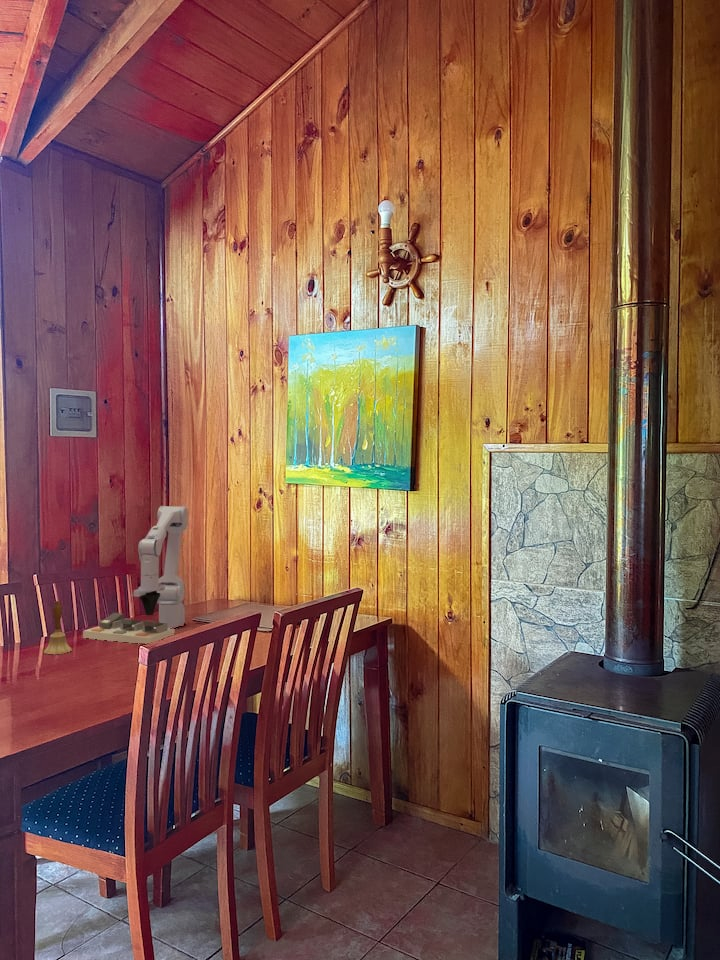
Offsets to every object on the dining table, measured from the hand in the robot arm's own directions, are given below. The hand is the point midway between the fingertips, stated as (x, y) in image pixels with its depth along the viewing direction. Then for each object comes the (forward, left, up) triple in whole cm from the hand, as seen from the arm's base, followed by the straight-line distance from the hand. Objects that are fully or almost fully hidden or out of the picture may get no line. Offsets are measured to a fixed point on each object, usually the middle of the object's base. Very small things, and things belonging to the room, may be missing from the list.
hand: (149, 614), depth 244 cm
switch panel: (-1, -9, -9) cm, 12 cm away
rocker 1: (-3, -18, -4) cm, 19 cm away
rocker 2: (-3, 0, -4) cm, 5 cm away
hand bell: (+23, -18, -9) cm, 30 cm away
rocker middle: (-3, -9, -4) cm, 10 cm away
